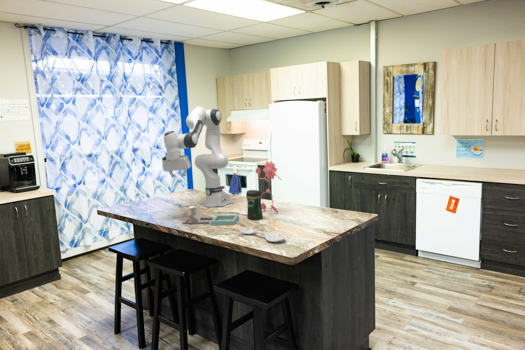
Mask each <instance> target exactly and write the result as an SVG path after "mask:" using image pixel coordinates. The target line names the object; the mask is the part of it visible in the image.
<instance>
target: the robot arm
mask: <svg viewBox="0 0 525 350" xmlns="http://www.w3.org/2000/svg"><path fill="white" fill-rule="evenodd" d="M221 121H222V113H221V111H220V110H219V109H215V108H213V109H206V110H205V108H204V107H202V106H196V107H194V108H193V109H192V110H191V111H190V112H189V114H188V115H187V116H186V119H185V123H186V125H187V127H188V128H189V129H191V131H190V132H187V133H181V134H179V133H176V131H175V130H171V131H167V132H165V133H164V134H163V143H164V147H165V149H166V155H165V156H163V157H161V161H162V162H161V163H162V164H161V165H162V169H163V171H164V172H168V173H169V174H170V176H171V178H175V176H176V175H175V174H174V173H173V171H180V170H181V171H182V172H183V173H182V177H186V176H187V172H188V171H187V170H188V169H190V168H191V167H192V166H191V161H190V159H189V156H188V155H186V154H181V150H184V149H194V148H196V147H197V145H198V143H199V138H200V136H201V133H202V131H203V128H204V126H205V128H206V129H205V138H204V139H205V140H204V145H205V148H206V149H208V150H209V151H211V153H206V154H205V153H204V154H198V155H197V156H196V157H195V159H194V165H195V167H196V168H197V169H198V170H200V171H201V173H202V174H203V177H204V181H205V202H204V204H205V205H204V206H205V207H206V208H207V207H208V208H216V207H217V206H219V207H225V206H228V205H230V204H232V202H233V203H234V201H233V200H231V199H230V195H229V193H227V192H225V191H224V189H225V186H223V185H222V186H221V177H220V175H219V174H218V173H216V172H214V171H213V169H216V170H217V169H224V168H226V167H227V166H228V165H229V158H228V156H227V155H226V154H225V153H224V152H223V151H222V149H221V127H220V123H221ZM227 204H228V205H227ZM217 208H218V207H217Z"/></svg>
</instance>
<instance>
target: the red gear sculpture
mask: <svg viewBox="0 0 525 350" xmlns="http://www.w3.org/2000/svg"><path fill="white" fill-rule="evenodd" d="M275 165H276V164H275V163H273V161H270V162H269V161H267V160H266V162H265V164H264V168H263V169H262V170H261V168H260V167H257V168H256V170H255V173H256V174H257V175H258V179H259V180H265V181H267V182H268V188H266V191H265V192H262V193H261V195H264V194H265V193H267V194H270V195H271V203H272V204H270V206H271V207H270V208H267V205H266V203H264V200H263V197H262V196H261V207H262V211H266V209H270V210H269V215H271V213H272V210H273V211H274V212H276V213H279V212H278V208H276V207H275V206H274V205H273V204H274V203H273V202H274V199H273V197H274V196H273V194H272V192H271V189H270V187H271V180H274V178H275V177H277V178H278V179H279V180H281V178H280V176H279V175H277V173H276V172H278V169H277V167H276V166H275ZM262 171H263V173H264V175H265V176H264V177H262V178H261V177H260V175H261V173H262ZM266 177H267V178H266ZM279 210H280V211H282V209H280V208H279Z"/></svg>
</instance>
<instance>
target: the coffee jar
mask: <svg viewBox="0 0 525 350" xmlns="http://www.w3.org/2000/svg"><path fill="white" fill-rule="evenodd" d="M261 194H262V192H261V190H257V189H249V190H246V195H245V196H246V201H247V212H246V213H247V215H246V217H247V219H249V220H261V219H262V218H263V217H264V216H263V209H262V207H261V204H262V197H261V196H262V195H263V194H262V195H261Z"/></svg>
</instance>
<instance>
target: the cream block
mask: <svg viewBox="0 0 525 350" xmlns="http://www.w3.org/2000/svg"><path fill="white" fill-rule="evenodd" d="M200 210H201V208H200V205H190V206H189V207H187V213H188V218H189V221H188V222H199V221H200V222H201V220H200V217H201V211H200Z"/></svg>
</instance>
